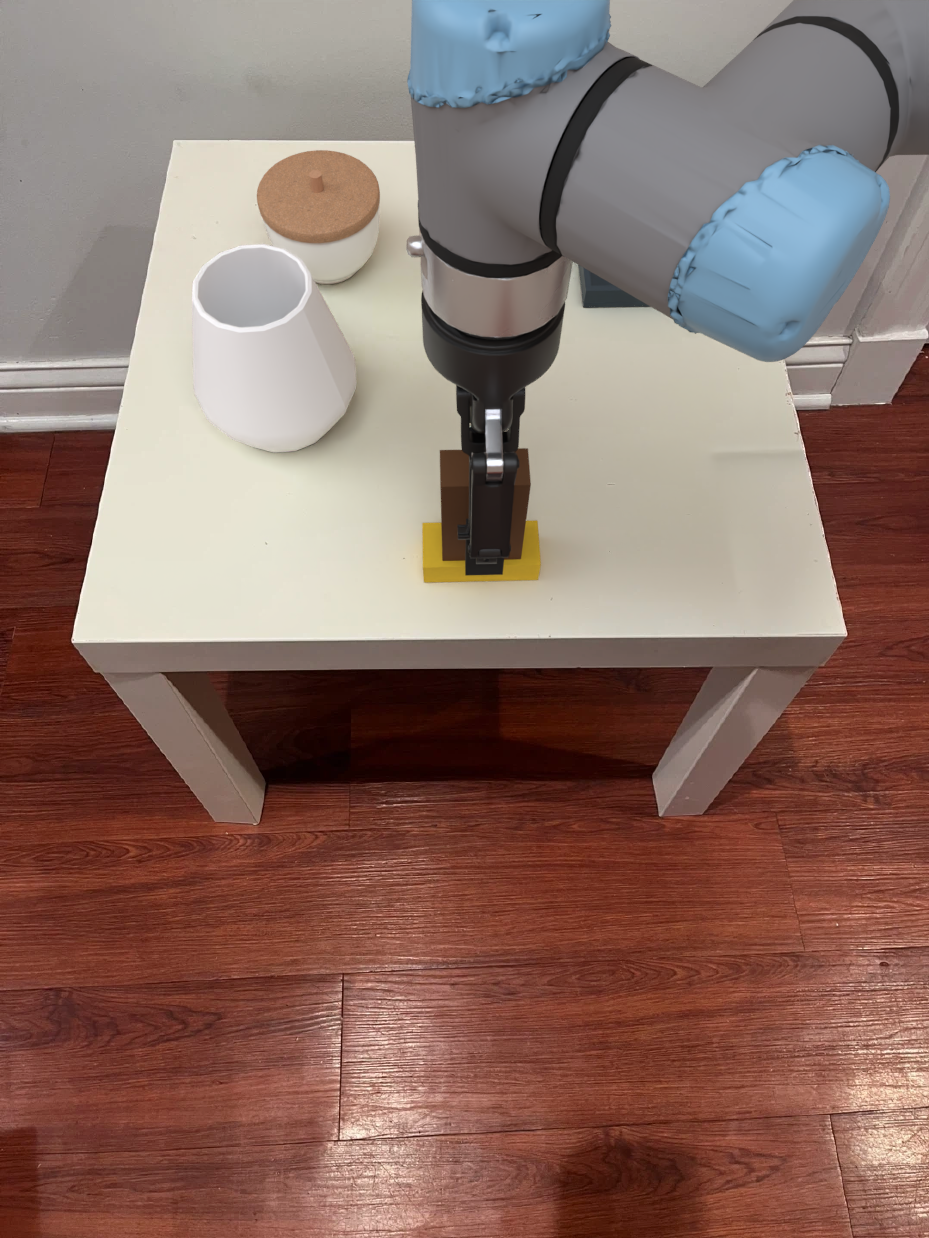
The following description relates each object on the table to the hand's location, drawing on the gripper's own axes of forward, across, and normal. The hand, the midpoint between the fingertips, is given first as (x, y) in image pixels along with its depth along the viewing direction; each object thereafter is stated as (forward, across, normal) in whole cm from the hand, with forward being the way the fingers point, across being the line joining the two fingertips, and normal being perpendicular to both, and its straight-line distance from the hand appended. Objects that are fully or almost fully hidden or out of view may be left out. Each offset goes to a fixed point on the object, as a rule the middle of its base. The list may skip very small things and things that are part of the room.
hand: (481, 526), depth 67 cm
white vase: (+5, -15, -16) cm, 23 cm away
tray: (+5, -35, +17) cm, 39 cm away
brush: (+5, 0, 0) cm, 5 cm away
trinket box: (+5, -33, -13) cm, 36 cm away
